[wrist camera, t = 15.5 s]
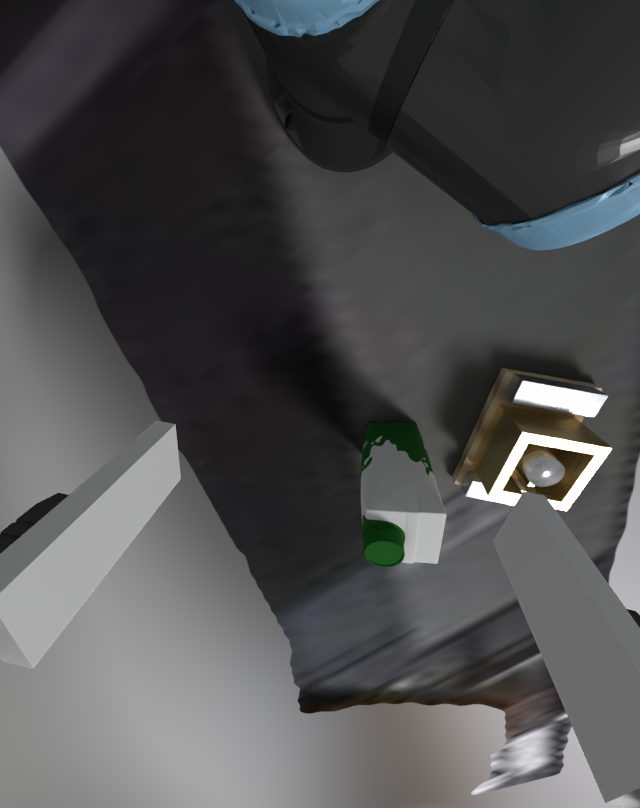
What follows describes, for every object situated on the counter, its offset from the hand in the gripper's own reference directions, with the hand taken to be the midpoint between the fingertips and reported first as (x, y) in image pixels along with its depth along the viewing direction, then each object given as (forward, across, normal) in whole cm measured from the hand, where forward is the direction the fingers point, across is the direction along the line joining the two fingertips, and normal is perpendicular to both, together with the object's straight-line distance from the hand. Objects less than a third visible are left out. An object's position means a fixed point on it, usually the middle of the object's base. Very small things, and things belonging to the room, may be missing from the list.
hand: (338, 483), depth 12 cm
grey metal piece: (+30, +26, -13) cm, 42 cm away
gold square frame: (+30, +26, -13) cm, 42 cm away
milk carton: (+32, +9, -18) cm, 38 cm away
